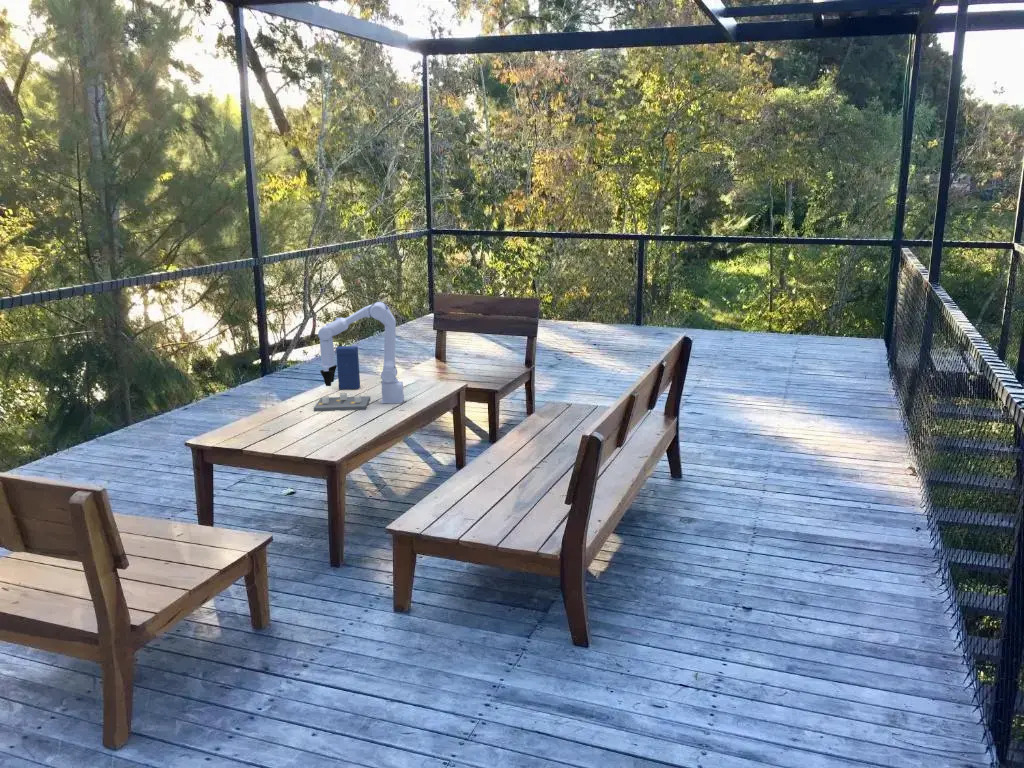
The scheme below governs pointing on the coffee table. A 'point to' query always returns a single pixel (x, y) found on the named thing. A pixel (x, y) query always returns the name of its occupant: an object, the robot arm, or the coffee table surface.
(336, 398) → the switch panel
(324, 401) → the switch
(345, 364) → the electronic device
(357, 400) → the switch
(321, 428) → the coffee table surface
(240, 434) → the coffee table surface
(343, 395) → the switch
